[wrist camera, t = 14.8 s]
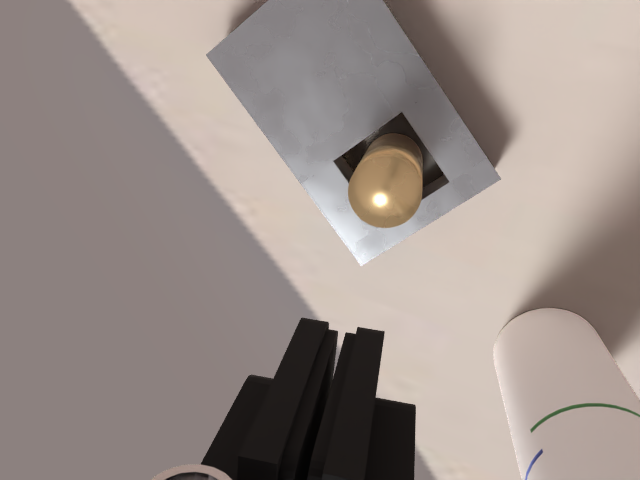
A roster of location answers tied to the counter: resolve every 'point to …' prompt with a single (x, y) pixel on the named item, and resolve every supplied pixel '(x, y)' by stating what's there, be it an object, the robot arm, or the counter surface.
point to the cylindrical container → (566, 400)
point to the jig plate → (347, 106)
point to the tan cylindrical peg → (387, 182)
